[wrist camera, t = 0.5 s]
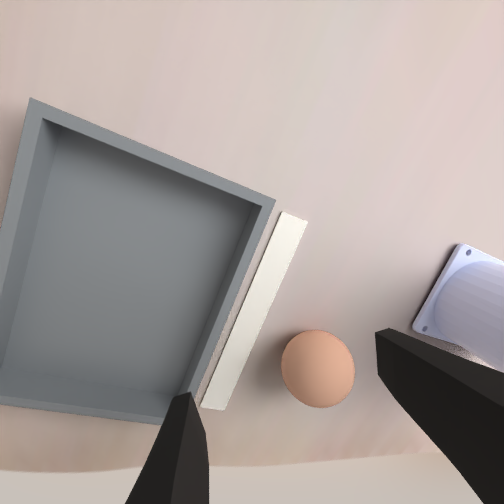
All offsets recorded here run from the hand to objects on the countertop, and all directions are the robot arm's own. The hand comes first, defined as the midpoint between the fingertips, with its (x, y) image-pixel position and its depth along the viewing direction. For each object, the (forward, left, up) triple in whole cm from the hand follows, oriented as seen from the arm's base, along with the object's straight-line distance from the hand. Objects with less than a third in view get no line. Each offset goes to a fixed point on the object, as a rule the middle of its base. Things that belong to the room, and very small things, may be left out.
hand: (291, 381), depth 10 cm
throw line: (-1, +3, -10) cm, 10 cm away
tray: (+7, +2, -10) cm, 12 cm away
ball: (-6, +4, -7) cm, 10 cm away
